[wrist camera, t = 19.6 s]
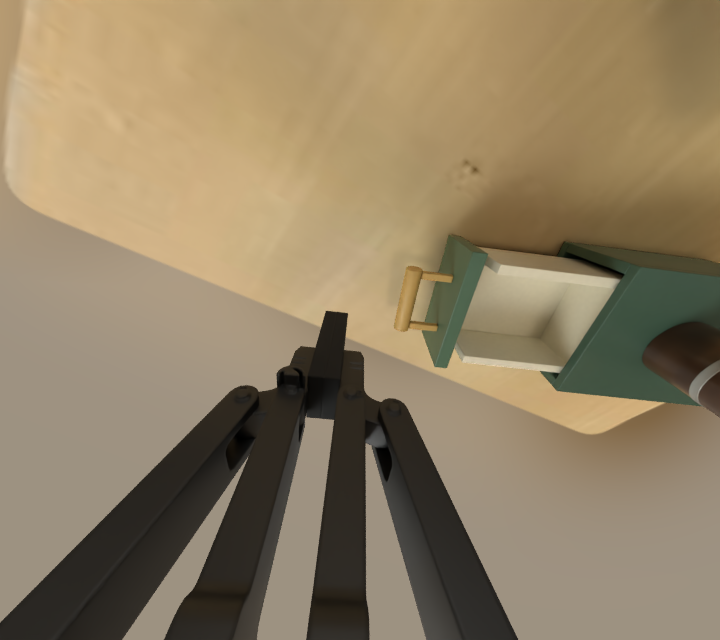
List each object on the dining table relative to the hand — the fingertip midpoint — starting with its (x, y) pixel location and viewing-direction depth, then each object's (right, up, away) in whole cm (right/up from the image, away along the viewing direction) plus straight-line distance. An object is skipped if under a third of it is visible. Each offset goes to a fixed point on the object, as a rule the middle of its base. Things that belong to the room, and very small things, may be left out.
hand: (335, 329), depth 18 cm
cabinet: (+28, +2, +11) cm, 30 cm away
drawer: (+14, +3, +9) cm, 17 cm away
